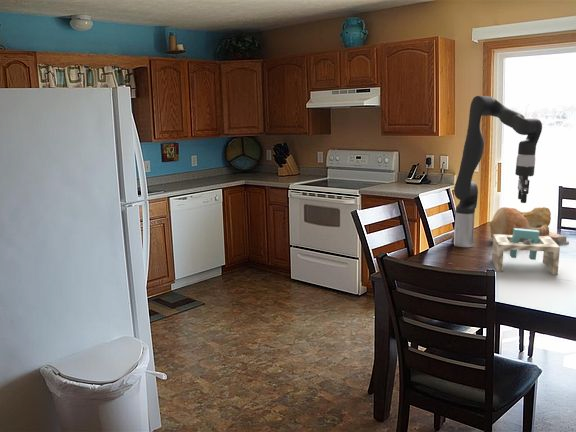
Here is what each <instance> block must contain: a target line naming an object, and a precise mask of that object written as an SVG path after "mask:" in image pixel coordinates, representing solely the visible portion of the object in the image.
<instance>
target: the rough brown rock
mask: <svg viewBox="0 0 576 432" xmlns="http://www.w3.org/2000/svg"><path fill="white" fill-rule="evenodd" d="M510 208H511V209H514V210H516V211H518V212H519V213H521V214H522V215H523V216H524V217H525V218H528V223H529V226H530V227H532V228H541V227H542V226H543V225H547V226H548V227H550V224H551V220H552V219H551V218H552V215H551V214H552V213H551V210H550V208H548V207H546V206H543V207H534V208H533V209H532V210H530V211H520V210H518V209H517V208H515V207H510Z"/></svg>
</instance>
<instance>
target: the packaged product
mask: <svg viewBox="0 0 576 432" xmlns="http://www.w3.org/2000/svg"><path fill="white" fill-rule="evenodd" d="M549 236H550V237H551V238H552V239H553V241H554V242H555V243H556V244H557V245H558V246H561V245H562V246H563V245H569V244H570V242H569V241H567V239H568V237H567V236H565V235H562V234H559V233H556V232H555V233H554V232H552V231H549Z"/></svg>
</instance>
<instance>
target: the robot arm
mask: <svg viewBox="0 0 576 432" xmlns="http://www.w3.org/2000/svg"><path fill="white" fill-rule="evenodd" d="M469 106H470V107H469V114H468V115H469V116H468V123H467V125H468V126H467V131H466V136H465V141H464V146H463V150H462V157H461V161H460V166H459V170H458V175H457V177H456V179H455V180H456V181H455V184H454V189H453V193H454V196H455V198H456V199H458V201H459V202H458V204H457V205H456V207H455V220H454V233H453V234H454V236H453V244H454V245H453V246H454V247H459V248H471V247H473V246H474V234H475V232H474V231H475V217H476V216H475V213H476V208H477V205H478V196H479V188H478V184H476V182H474V180H473V176H474V173H475V171H476V169H477V167H478V165H479V163H480V162H481V160H482V156H483V154H484V149H485V139H484V137H483V133H482V129H481V121H482V116H483V117H489V116H490V117H496V118H497V119H499V120H500V122H501V123H502V124H503V125H505V126H507V127H510V128H512V129H513V131H514V132H515V133H516V134H519V135H521V136H526V138H525V139H523V140H521V141H519V142H518V147H517V148H518V150H517V151H518V152H517V157H516V163H515V176H518V183H517V191H518V192H517V199H518V200H520V203H522V204H527V199H528V195H529V193H530V191H529V190H530V182H531V181H530V179H529V177H533V176H535V166H536V150H537V144H538V142H539V139H540V136H541V134H542V131H543V123H542V122H541V120H540V119H539V118H534V117H533V118H526V117H525V116H524V115H523V114H522V113H520V112H518V111H516V110H513V109H511V108H509V107H507V106H506V105H504V104H502V103H501V102H500V101H499V100H497V99H496V98H495V97H493V96H490V95H476V96H474V97H473V98H472V100H471V103H470V105H469Z"/></svg>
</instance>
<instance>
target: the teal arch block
mask: <svg viewBox="0 0 576 432" xmlns="http://www.w3.org/2000/svg"><path fill="white" fill-rule="evenodd" d="M519 238H523V239H531V243H536V244H539V243H538V239H539V231H538V230H531V229H520V228H513V236H512V243H519V242H518V240H519ZM537 252H538V251H529V255H528V258H529V259H530V260H533V261H536V259H537ZM517 254H518V250H510V253H509V257H510V258H513V259H517Z"/></svg>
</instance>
